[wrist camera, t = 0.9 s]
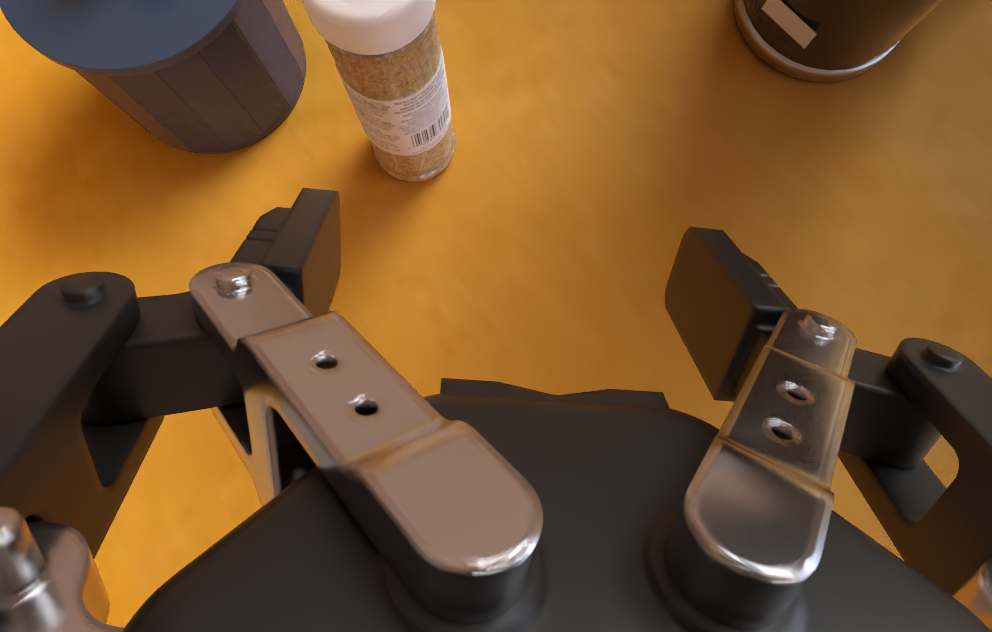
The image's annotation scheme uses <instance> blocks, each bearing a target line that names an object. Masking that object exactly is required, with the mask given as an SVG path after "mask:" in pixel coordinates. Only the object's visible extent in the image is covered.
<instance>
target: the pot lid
mask: <svg viewBox="0 0 992 632" xmlns="http://www.w3.org/2000/svg"><path fill="white" fill-rule="evenodd" d="M244 1H245V0H0V7H1V9H2V11H3V14H4V16H5V17H6V19H7V20H8V22H9V23H10V25H11V26H12V27H13V29H14V30H15V31H16V32H17V33H18V34H19V35H20V36H21V37H22V38H23V39H24V40H25V41H26V42H27V43H28V44H29V45H31V46H32V47H33V48H35V49H36V50H37V51H38V52H40V53H41V54H42V55H44V56H45V57H47V58H49V59H50V60H52V61H54V62H56V63H57V64H60V65H62V66H65V67H67V68H70V69H72V70H76V71H80V72H84V73H88V74H93V75H101V76H131V75H139V74H145V73H149V72H153V71H157V70H161V69H163V68H166V67H169V66H172V65H174V64H177V63H179V62H181V61H183V60H185V59H187V58H189V57H191V56H192V55H194V54H195V53H197V52H198V51H200V50H201V49H203V48H204V47H206V46H207V45H208V44H209V43H211V42H212V41H213V40H214V39H215V38H217V37H218V36H219V35H220V34H221V33H222V32H223V31H224V30H225V28H226V27H227V26H228V25H229V24H230V23H231V21H232V20H233V19H234V17H235V16H236V15H237V13H238V12H239V10H240V9H241V7H242V5H243V3H244Z"/></svg>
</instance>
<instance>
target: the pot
mask: <svg viewBox="0 0 992 632" xmlns="http://www.w3.org/2000/svg"><path fill="white" fill-rule="evenodd" d="M75 71H76V70H75ZM76 72H77V73H79V74H80V75H81V76H82V77H83V78H85V79H86V80H87V81H88V82H89V83H91V84H92V85H93V86H94V87H95V88H97V89H98V90H99V91H100V92H101V93H103V94H104V95H105V96H106V97H107V98H109V99H110V100H111V101H112V102H113V103H115V104H116V105H117V106H118V107H119V108H121V109H122V110H123V111H124V112H125V113H127V114H128V115H129V116H130V117H131V118H133V119H134V120H135V121H136V122H137V123H139V124H140V125H141V126H142V127H143V128H145V129H146V130H147V131H148V132H149V133H151V134H152V135H153V136H154V137H156V138H157V139H159V140H161V141H163V142H165V143H167V144H168V145H171V146H173V147H176V148H178V149H181V150H185V151H189V152H195V153H223V152H229V151H233V150H237V149H241V148H243V147H246V146H248V145H251V144H253V143H255V142H257V141H259V140H261V139H262V138H264V137H265V136H267V135H268V134H270V133H271V132H272V131H273V130H274V129H276V128H277V127H278V126H279V125H280V124H281V123H282V122H283V121H284V120H285V118H286V117H287V116H288V115H289V113H290V112H291V111H292V109H293V108H294V106H295V104H296V102H297V100H298V98H299V96H300V93H301V90H302V88H303V84H304V79H305V72H306V59H305V51H304V47H303V43H302V40H301V37H300V35H299V33H298V31H297V29H296V27H295V25H294V23H293V21H292V19H291V17H290V15H289V13H288V11H287V9H286V7H285V5H284V3H283V1H282V0H245V1H244V3H243V5H242V7H241V9H240V10H239V12H238V13H237V15H236V16H235V17H234V19H233V20H232V21H231V23H230V24H229V25H228V26H227V27H226V28H225V30H224V31H223V32H222V33H221V34H220V35H219V36H218V37H217V38H215V39H214V40H213V41H212V42H211V43H209V44H208V45H207V46H206V47H204V48H203V49H201V50H200V51H198V52H197V53H195V54H194V55H192V56H191V57H189V58H187V59H185V60H183V61H181V62H179V63H177V64H174V65H172V66H169V67H166V68H163V69H161V70H157V71H153V72H149V73H145V74H139V75H131V76H101V75H93V74H88V73H84V72H80V71H76Z"/></svg>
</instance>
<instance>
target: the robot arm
mask: <svg viewBox="0 0 992 632" xmlns="http://www.w3.org/2000/svg"><path fill="white" fill-rule="evenodd" d="M941 1H942V0H733V5H734V13H735V18H736V21H737V24H738V27H739V29H740V32H741V34H742V35H743V37H744V39H745V40H746V42H747V43H748V45H749V46H750V47H751V49H752V50H753V51H754V52H755V53H756V54H757V55H758V56H759V57H760V58H761V59H762V60H764V61H765V62H766V63H767V64H769V65H770V66H772V67H773V68H775V69H777V70H778V71H780V72H782V73H785V74H787V75H789V76H792V77H795V78H798V79H802V80H806V81H812V82H835V81H841V80H846V79H849V78H853V77H855V76H858V75H860V74H862V73H864V72H866V71H868V70H869V69H870V68H872V67H873V66H875V65H876V64H877V63H878V62H879V61H880V60H881V59H883V58H884V57H885V56H886V55H887V54H888V53H889V52H890V51H891V50H892V49H893V48H894V47H895V46H896V45H897V43H898V42H899V41H900V39H901V38H902V37H903V36H904V35H905V34H907V33H908V32H909V31H910V30H911V29H912V28H913V27H914V26H915V25H916V24H917V23H918V22H919V21H920V20H922V19H923V18H924V17H925V16H926V15H927V14H928V13H930V12H931V11H932V10H933V9H934V8H935V7H936V6H937V5H938V4H939V3H940V2H941ZM340 266H341V235H340V198H339V193H338V191H330V190H320V189H310V188H303V189H302V190H301V192H300V194H299V195H298V197H297V199H296V201H295V202H294V204H293V206H292V207H291V208H280V207H277V208H275V209H273V210H271V211H269V212H267V213H266V214H264V215H262V216H260V218H259V219H258V221H257V222H256V224H255V225H254V227H253V230H251V231H250V233H249V234H248V236H247V239H246V240H244V242H243V243H242V245H241V246H240V248H239V249H238V251H237V252H236V254H235V255H234V257H233V258H232V260H231V261H230V262H229V263H223V264H218V265H214V266H211V267H208V268H205V269H203V270H201V271H200V272H198V273H197V274H195V275H194V276H193V277H192V279H191V280H190V283H189V289H190V291H189V292H185V293H180V294H172V295H162V296H151V297H140V298H137V296H136V291H135V287H134V284H133V282H132V281H131V280H130V279H129V278H127V277H125V276H123V275H120V274H116V273H111V272H85V273H78V274H73V275H68V276H65V277H61V278H59V279H56V280H53V281H51V282H49V283H47V284H45V285H44V286H42V287H41V288H39V289H38V290H37V291H36V292H35V293H34V294H33V295H32V296H31V297H30V298H29V299H28V300H27V301H26V302H25V303H24V304H23V305H22V306H21V307H20V308H19V309H18V310H17V311H16V312H15V313H14V314H13V315H12V316H11V317H10V318H9V319H8V320H7V321H6V322H5V323H4V324H3V325H2V326H1V327H0V632H992V379H991V378H990V377H989V376H988V375H987V374H986V373H985V372H984V371H983V370H982V369H981V368H980V367H978V366H977V365H976V364H975V363H974V362H973V361H972V360H970V359H969V358H967V357H966V356H965V355H963V354H961V353H960V352H958V351H956V350H954V349H952V348H950V347H948V346H945V345H942V344H940V343H937V342H934V341H930V340H926V339H920V338H908V339H904V340H903V341H902V342H901V343H900V344H899V346H898V348H897V349H896V351H895V352H894V354H893V356H892V357H888V356H884V355H881V354H877V353H873V352H869V351H865V350H861V349H857V348H855V347H856V342H857V340H856V337H855V336H854V334H853V333H852V332H851V331H850V330H849V329H848V328H847V327H846V326H844V325H843V324H842V323H840V322H838V321H837V320H835V319H833V318H831V317H828V316H826V315H824V314H821V313H818V312H814V311H810V310H804V309H798V308H797V307H796V306H795V305H794V303H793V302H792V301H791V300H790V299H789V298H788V297H787V295H786V294H785V293H784V292H783V291H782V290H781V288H779V287H777V284H776V283H775V282H774V280H773V279H772V278H769V275H768V274H767V272H766V271H765V270H764V269H763V268H762V267H761V266H760V264H759V263H757V262H756V261H754V260H753V259H751V258H750V257H748V256H747V255H745V254H744V253H742V252H741V251H740V250H739V248H738V247H737V246H736V245H735V244H734V243H733V241H732V240H731V239H730V238H729V237H728V236H727V234H726V233H725V232H724V231H723V230H718V229H708V228H698V227H690V228H688V229H687V230H686V231H685V233H684V235H683V237H682V240H681V243H680V246H679V249H678V252H677V255H676V258H675V261H674V264H673V267H672V270H671V273H670V276H669V279H668V282H667V285H666V290H665V306H666V309H667V312H668V314H669V315H670V317H671V319H672V321H673V323H674V325H675V327H676V329H677V331H678V332H679V334H680V336H681V338H682V340H683V342H684V344H685V346H686V347H687V349H688V351H689V353H690V355H691V357H692V359H693V361H694V363H695V364H696V366H697V368H698V370H699V372H700V374H701V376H702V378H703V379H704V381H705V383H706V385H707V387H708V389H709V391H710V393H711V395H712V396H713V398H714V400H720V401H735V402H734V404H733V406H732V408H731V410H730V412H729V413H728V415H727V417H726V419H725V421H724V423H723V425H722V427H721V429H720V430H719V429H717V428H716V427H714V426H712V425H711V424H709V423H707V422H705V421H703V420H701V419H698V418H696V417H694V416H691V415H689V414H686V413H683V412H680V411H677V410H673V409H670V408H669V406H668V404H667V401H666V399H665V397H664V394H663V392H648V391H633V390H618V389H606V390H598V391H590V392H582V393H574V394H566V395H552V394H547V393H543V392H539V391H535V390H531V389H526V388H522V387H518V386H514V385H509V384H505V383H501V382H495V381H479V380H464V379H449V378H442V379H441V389H440V394H437V395H430V396H426V397H422V396H421V395H420V394H419V393H418V392H417V391H416V390H415V389H414V388H413V387H412V386H411V385H410V384H409V383H408V382H407V381H406V380H405V379H404V378H403V377H402V376H401V375H400V374H399V373H398V372H397V371H396V370H395V369H394V368H393V367H392V366H391V365H390V364H389V363H388V362H387V361H386V360H385V359H384V358H383V357H382V356H381V355H380V354H379V353H378V352H377V351H376V350H375V349H374V348H373V347H372V346H371V345H370V344H369V343H368V342H367V341H366V340H365V339H364V338H363V337H362V336H361V335H360V334H359V333H358V332H357V331H356V330H355V329H354V328H353V327H352V326H351V325H350V324H349V323H348V322H347V321H346V320H345V319H344V317H343V316H341V315H340V314H339V313H338V312H336V311H329V308H330V305H331V302H332V299H333V296H334V293H335V290H336V287H337V284H338V280H339V275H340ZM328 311H329V312H328ZM207 408H212V412H213V414H214V416H215V417H216V419H217V421H218V422H219V424H220V426H221V427H222V429H223V431H224V432H225V434H226V436H227V437H228V439H229V440H230V442H231V444H232V445H233V447H234V449H235V450H236V452H237V454H238V455H239V457H240V459H241V460H242V462H243V463H244V465H245V467H246V468H247V470H248V472H249V473H250V475H251V477H252V479H253V482H254V484H255V487H256V490H257V493H258V497H259V500H260V503H261V505H262V507H261V508H260V509H259V510H258V511H256V512H255V513H254V514H252V515H251V516H250V517H248V518H247V519H246V520H245V521H243V522H242V523H241V524H239V525H238V526H237V527H236V528H234V529H233V530H232V531H230V532H229V533H228V534H227V535H225V536H224V537H223V538H221V539H220V540H219V541H218V542H216V543H215V544H214V545H212V546H211V547H210V548H208V549H207V550H206V551H205V552H203V553H202V554H201V555H199V556H198V557H197V558H196V559H194V560H193V561H192V562H190V563H189V564H188V565H187V566H185V567H184V568H183V569H181V570H180V571H179V572H178V573H176V574H175V575H174V576H172V577H171V578H170V579H169V580H168V581H167V582H165V583H164V584H163V585H162V586H161V587H159V588H158V589H157V590H156V591H155V592H154V593H153V594H152V595H151V596H150V597H149V598H148V599H147V600H146V601H145V603H144V604H143V605H142V606H141V607H140V608H139V609H138V611H137V612H136V613H135V615H134V616H133V617H132V619H131V620H130V621H129V623H128V624H127V625H126V627H125V628H120V627H115V626H110V625H107V624H106V622H107V618H108V614H109V606H110V602H109V596H108V593H107V591H106V589H105V586H104V584H103V581H102V579H101V576H100V574H99V571H98V569H97V566H96V564H95V562H94V558H95V556H96V554H97V552H98V550H99V548H100V546H101V544H102V542H103V540H104V538H105V536H106V534H107V532H108V530H109V528H110V526H111V524H112V522H113V520H114V518H115V516H116V514H117V512H118V510H119V508H120V506H121V504H122V502H123V500H124V498H125V496H126V494H127V492H128V490H129V488H130V486H131V484H132V482H133V480H134V478H135V476H136V474H137V472H138V470H139V468H140V466H141V464H142V462H143V460H144V458H145V456H146V454H147V452H148V450H149V448H150V446H151V444H152V442H153V439H154V437H155V435H156V433H157V431H158V429H159V427H160V425H161V423H162V421H163V419H164V415H170V414H176V413H183V412H189V411H195V410H201V409H207ZM941 435H942V436H943V437H944V438H945V439H946V440H947V441H948V443H949V444H950V445H951V446H952V447H953V449H954V450H955V452H956V454H957V456H958V460H959V471H958V474H957V476H956V478H955V479H954V481H953V482H952V483H951V484H950V486H949V487H948V488H947V489H946V488H945V486H944V485H943V484H942V483H941V481H940V480H939V479H938V478H937V476H936V475H935V474H934V473H933V471H932V470H931V469H930V467H929V466H928V465H927V464H926V462H925V461H924V460H923V458H924V457H925V456H926V454H927V453H928V452H929V450H930V449H931V448H932V446H933V445H934V444H935V442H936V441H937V440H938V438H939V437H940V436H941ZM838 456H839V458H840V460H841V462H842V463H843V465H844V466H845V468H846V469H847V471H848V473H849V474H850V476H851V477H852V479H853V481H854V482H855V484H856V485H857V487H858V488H859V490H860V492H861V493H862V495H863V496H864V498H865V499H866V501H867V503H868V504H869V506H870V507H871V509H872V510H873V512H874V514H875V515H876V517H877V518H878V520H879V522H880V523H881V525H882V526H883V528H884V529H885V531H886V533H887V534H888V536H889V537H890V539H891V540H892V542H893V544H894V545H895V547H896V548H897V550H898V552H899V553H900V555H901V556H902V558H903V559H904V561H905V562H904V561H903V560H901V559H900V558H898V557H897V556H896V555H894V554H893V553H891V552H890V551H889V550H887V549H886V548H884V547H883V546H882V545H880V544H879V543H877V542H876V541H875V540H873V539H872V538H871V537H869V536H868V535H866V534H865V533H864V532H862V531H861V530H859V529H858V528H857V527H855V526H854V525H852V524H851V523H850V522H848V521H847V520H845V519H844V518H843V517H841V516H840V515H838V514H837V513H836V512H834V511H833V510H832V507H833V502H834V493H833V492H831V491H830V486H831V481H832V477H833V473H834V469H835V465H836V461H837V457H838Z"/></svg>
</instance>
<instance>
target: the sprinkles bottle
mask: <svg viewBox="0 0 992 632" xmlns="http://www.w3.org/2000/svg"><path fill="white" fill-rule="evenodd" d="M302 2H303V4H304V6H305V8H306V10H307V13H308V15H309V17H310V19H311V22H312V23H313V25H314V27H315V28H316V30H317V31H318V32H319V33H320V34H321V35H322V36H323V37H324V38H325V40H326V43H327V44H328V47H329V49H330V51H331V53H332V56H333V57H334V60H335V63H336V67H337V70H338V72H339V74H340V77H341V79H342V81H343V83H344V86H345V88H346V90H347V92H348V94H349V97H350V99H351V101H352V103H353V105H354V108H355V110H356V112H357V114H358V117H359V119H360V121H361V124H362V126H363V128H364V130H365V132H366V134H367V136H368V137H369V139H370V141H371V143H372V145H373V150H374V155H375V158H376V159H377V161H378V162H379V164H380V166H381V167H382V168H383V169H384V170H385V171H386V172H387V173H388V174H390V175H391V176H393V177H395V178H396V179H400V180H403V181H412V182H417V181H423V180H428V179H430V178H432V177H434V176H436V175H437V174H439V173H440V172H441V171H442V170H444V169H445V167H446V166H447V165H448V163H449V162H450V160H451V159H452V157H453V154H454V149H455V144H456V140H455V132H454V129H453V126H452V124H451V109H450V101H449V94H448V86H447V79H446V72H445V65H444V57H443V51H442V48H441V45H440V42H439V37H438V32H437V24H436V19H435V12H434V8H435V3H436V0H302Z"/></svg>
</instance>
